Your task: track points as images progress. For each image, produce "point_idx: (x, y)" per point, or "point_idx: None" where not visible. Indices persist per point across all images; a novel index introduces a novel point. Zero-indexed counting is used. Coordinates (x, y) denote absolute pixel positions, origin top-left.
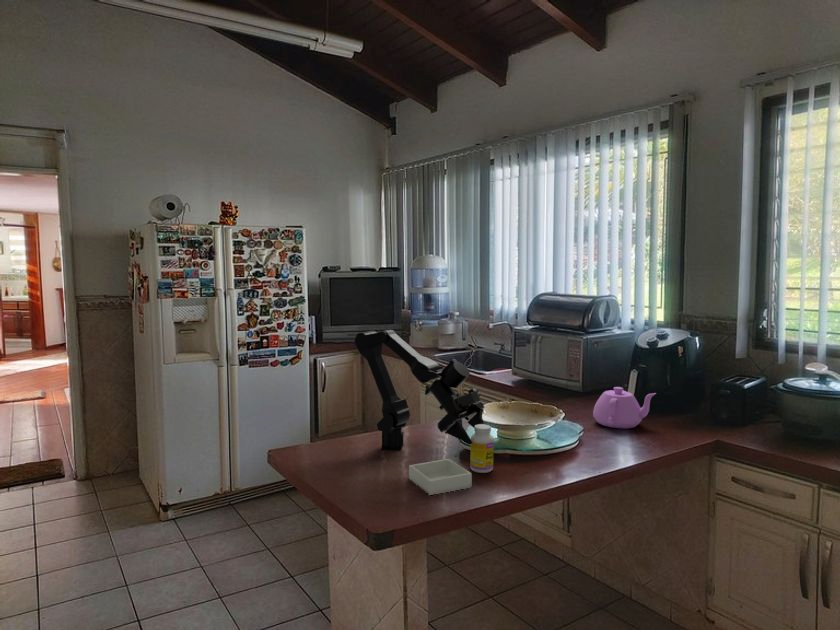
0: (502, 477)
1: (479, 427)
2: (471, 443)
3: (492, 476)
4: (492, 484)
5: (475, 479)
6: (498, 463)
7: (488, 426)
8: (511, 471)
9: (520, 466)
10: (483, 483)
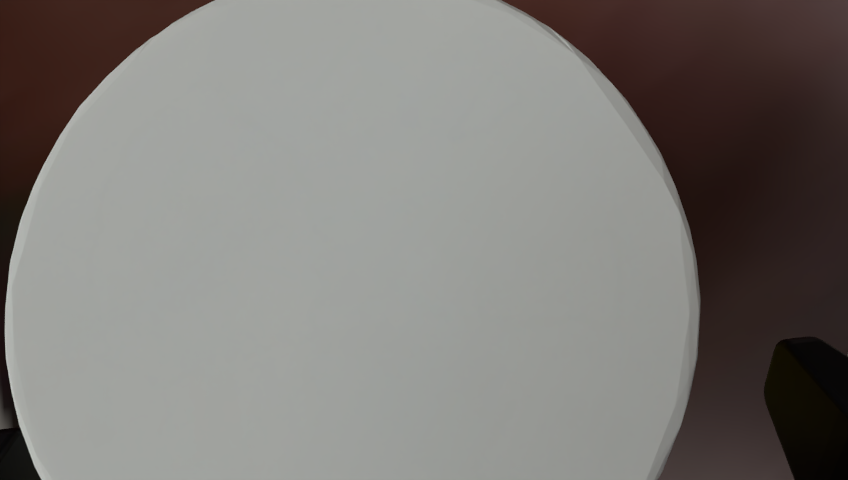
0: None
1: (561, 303)
2: (798, 345)
3: None
4: (688, 3)
5: (711, 210)
6: None
7: (173, 115)
8: None
9: (50, 65)
10: (736, 84)
